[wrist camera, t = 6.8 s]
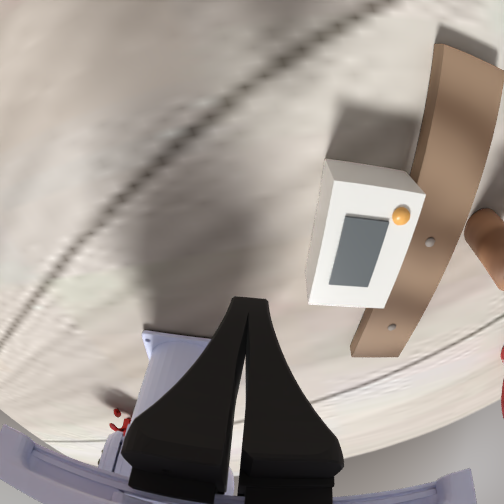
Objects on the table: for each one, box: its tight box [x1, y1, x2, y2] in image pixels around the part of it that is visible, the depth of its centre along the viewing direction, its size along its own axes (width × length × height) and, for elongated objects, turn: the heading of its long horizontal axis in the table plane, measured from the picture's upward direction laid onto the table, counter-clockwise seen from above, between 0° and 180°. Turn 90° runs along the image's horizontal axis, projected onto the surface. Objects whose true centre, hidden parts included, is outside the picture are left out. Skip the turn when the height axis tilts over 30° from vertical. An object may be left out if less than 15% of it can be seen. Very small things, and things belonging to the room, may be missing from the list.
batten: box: [350, 44, 504, 357], centre depth 19 cm, size 24×4×1 cm, turn 177°
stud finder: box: [305, 159, 426, 308], centre depth 18 cm, size 8×5×4 cm, turn 177°
